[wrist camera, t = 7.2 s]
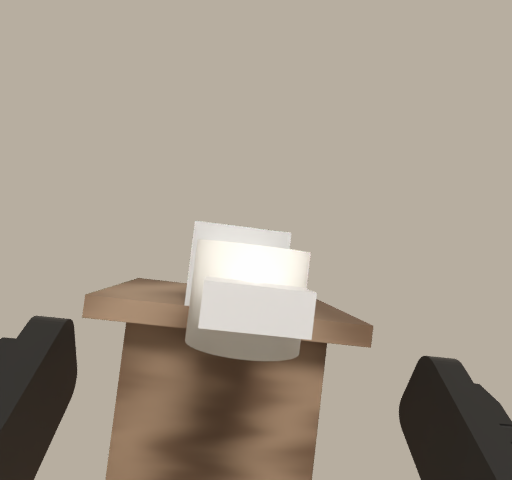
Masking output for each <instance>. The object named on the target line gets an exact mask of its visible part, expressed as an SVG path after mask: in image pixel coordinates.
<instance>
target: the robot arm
mask: <svg viewBox="0 0 512 480" xmlns="http://www.w3.org/2000/svg"><path fill="white" fill-rule="evenodd" d="M76 378H77V360H76V347H75V334H74V324H73V321H72V320H71V319H64V318H63V319H62V318H54V317H43V316H34V317H32V318H31V319H30V320H29V322H28V323H27V324H26V326H25V327H24V329H23V330H22V331H21V333H20V334H19V336H18V337H17V338H16V339H14V338H1V339H0V480H34V478H35V476H36V474H37V471H38V469H39V467H40V465H41V462H42V460H43V458H44V456H45V454H46V452H47V450H48V447H49V445H50V443H51V441H52V439H53V436H54V434H55V432H56V430H57V428H58V426H59V424H60V421H61V419H62V417H63V415H64V413H65V410H66V408H67V406H68V404H69V402H70V399H71V397H72V394H73V391H74V388H75V384H76ZM399 419H400V424H401V428H402V431H403V433H404V436H405V439H406V441H407V444H408V446H409V449H410V452H411V455H412V457H413V460H414V462H415V465H416V468H417V470H418V473H419V476H420V478H421V480H512V421H511V420H510V418H509V417H508V415H507V414H506V412H505V411H504V409H503V407H502V406H501V405H500V403H499V402H498V401H497V400H496V399H495V398H494V397H492V396H491V395H490V394H489V393H488V392H487V391H486V390H485V389H484V388H483V387H482V386H481V385H480V384H474V383H473V381H472V380H471V378H470V376H469V375H468V373H467V372H466V370H465V368H464V367H463V365H462V364H461V363H460V362H459V361H458V360H456V359H451V358H441V357H430V356H423V357H421V358H420V359H419V361H418V363H417V365H416V367H415V370H414V372H413V374H412V376H411V378H410V380H409V383H408V385H407V387H406V389H405V391H404V394H403V396H402V398H401V402H400V406H399Z"/></svg>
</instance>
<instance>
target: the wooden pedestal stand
mask: <svg viewBox="0 0 512 480" xmlns="http://www.w3.org/2000/svg"><path fill="white" fill-rule="evenodd" d="M186 288H187V283H177V282H169V281H160V280H151V279H142V278H137V279H134V280H131V281H128V282H124V283H121V284H119V285H115V286H112V287H108V288H105V289H102V290H99V291H96V292H92V293H89V294H86V295H85V301H84V308H83V315H82V317H83V318H91V319H101V320H110V321H120V322H126V329H125V336H124V344H123V351H122V359H121V367H120V375H119V382H118V389H117V397H116V404H115V413H114V420H113V427H112V435H111V442H110V450H109V457H108V465H107V473H106V480H312V472H313V463H314V455H315V445H316V437H317V428H318V419H319V410H320V401H321V392H322V383H323V374H324V365H325V356H326V347H327V343H332V344H342V345H351V346H361V347H371V342H372V332H373V326H372V325H370V324H368V323H366V322H364V321H361V320H360V319H358V318H355V317H353V316H351V315H349V314H347V313H345V312H343V311H341V310H339V309H336V308H334V307H332V306H330V305H328V304H326V303H324V302H321V301H319V300H317V299H316V305H315V314H314V322H313V331H312V340H307V339H301V342H300V351H299V355H298V356H297V357H296V358H293V359H289V360H283V361H251V360H241V359H233V358H227V357H221V356H217V355H212V354H209V353H205V352H202V351H199V350H196V349H194V348H192V347H190V346H189V345H187V344H186V342H185V336H186V328H187V320H188V312H189V306H185V305H184V304H185V296H186Z"/></svg>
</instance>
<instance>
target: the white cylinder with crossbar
mask: <svg viewBox="0 0 512 480" xmlns="http://www.w3.org/2000/svg"><path fill="white" fill-rule="evenodd" d="M290 240H291V233H287V232H280V231H272V230H264V229H256V228H248V227H240V226H232V225H224V224H216V223H208V222H200V221H195V225H194V234H193V241H192V250H191V258H190V266H189V273H188V281H187V288H186V296H185V304H184V305H185V306H189V312H188V320H187V328H186V336H185V342H186V344H187V345H189V346H190V347H192V348H194V349H196V350H199V351H202V352H205V353H209V354H212V355H217V356H221V357H227V358H233V359H241V360H251V361H283V360H289V359H293V358H296V357H297V356H298V355H299V351H300V342H301V339H307V340H312V331H313V322H314V314H315V305H316V295H317V293H315V292H313V291H311V290H308V289H307V281H308V271H309V263H310V254H311V253H310V252H304V251H298V250H291V249H290Z"/></svg>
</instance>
